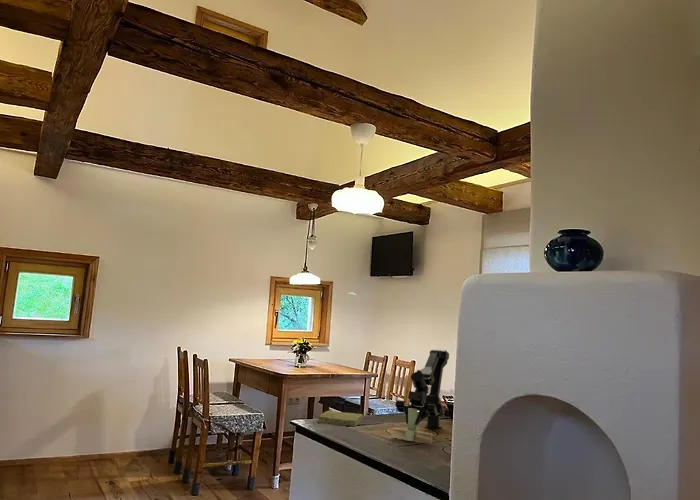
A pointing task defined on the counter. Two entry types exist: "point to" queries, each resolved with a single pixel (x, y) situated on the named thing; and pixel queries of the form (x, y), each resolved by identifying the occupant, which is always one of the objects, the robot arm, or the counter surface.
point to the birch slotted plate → (419, 437)
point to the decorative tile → (340, 418)
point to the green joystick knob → (411, 424)
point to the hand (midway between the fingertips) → (411, 424)
